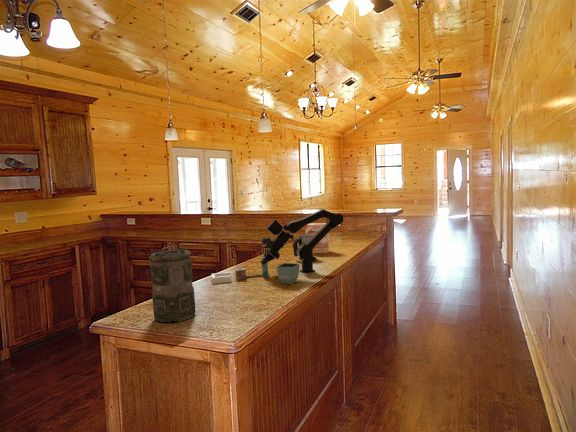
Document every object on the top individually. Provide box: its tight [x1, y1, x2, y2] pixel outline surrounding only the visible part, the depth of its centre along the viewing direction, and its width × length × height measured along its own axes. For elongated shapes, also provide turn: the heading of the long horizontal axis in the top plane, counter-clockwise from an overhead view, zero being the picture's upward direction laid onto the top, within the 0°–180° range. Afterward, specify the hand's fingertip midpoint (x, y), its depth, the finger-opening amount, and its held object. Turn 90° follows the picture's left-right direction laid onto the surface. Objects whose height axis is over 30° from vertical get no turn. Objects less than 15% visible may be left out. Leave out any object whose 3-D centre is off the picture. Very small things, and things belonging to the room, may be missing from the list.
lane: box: [211, 271, 232, 284], centre depth 223 cm, size 10×10×3 cm
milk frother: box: [292, 233, 318, 262], centre depth 264 cm, size 14×16×15 cm
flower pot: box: [276, 262, 300, 285], centre depth 209 cm, size 9×9×9 cm
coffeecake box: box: [304, 222, 330, 254], centre depth 287 cm, size 15×7×20 cm, turn 81°
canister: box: [148, 244, 197, 323], centre depth 166 cm, size 16×16×28 cm
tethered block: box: [234, 256, 271, 281], centre depth 226 cm, size 18×5×10 cm, turn 103°
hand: (261, 263), depth 227 cm, fingers closed on tethered block, 3 cm apart
